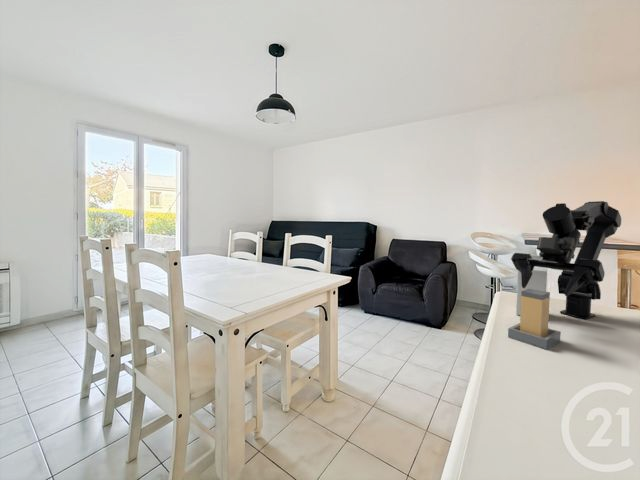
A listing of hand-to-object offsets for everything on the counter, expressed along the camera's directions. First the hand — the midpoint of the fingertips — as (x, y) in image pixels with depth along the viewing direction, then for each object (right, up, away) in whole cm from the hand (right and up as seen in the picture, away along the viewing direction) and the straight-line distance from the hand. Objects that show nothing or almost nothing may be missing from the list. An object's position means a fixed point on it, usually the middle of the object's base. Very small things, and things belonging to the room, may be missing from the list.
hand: (543, 290), depth 72 cm
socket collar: (-4, -12, -1) cm, 13 cm away
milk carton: (+9, -11, +16) cm, 21 cm away
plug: (-4, -12, -1) cm, 12 cm away
